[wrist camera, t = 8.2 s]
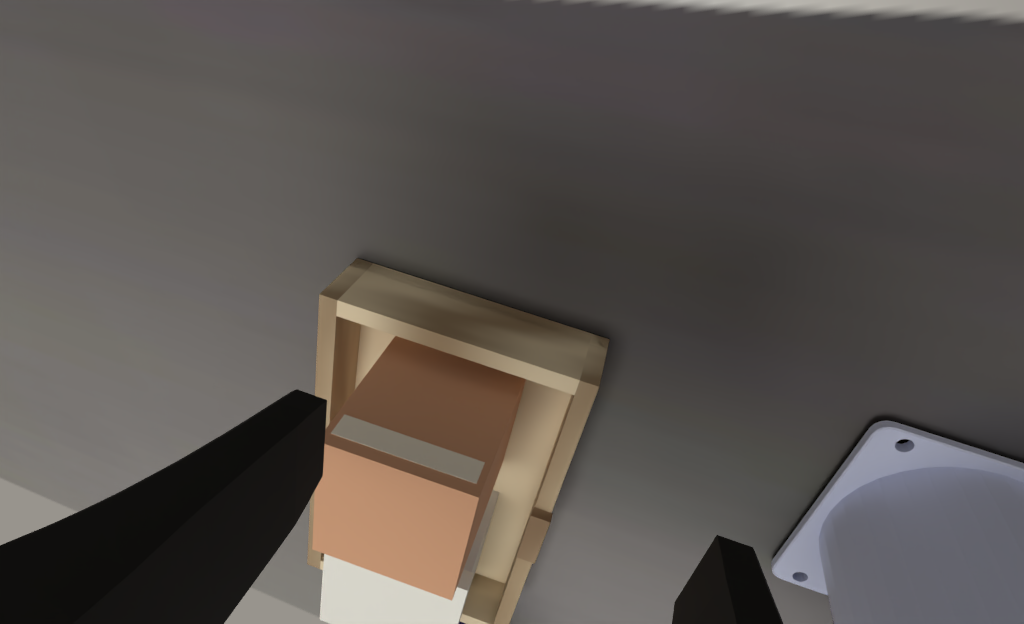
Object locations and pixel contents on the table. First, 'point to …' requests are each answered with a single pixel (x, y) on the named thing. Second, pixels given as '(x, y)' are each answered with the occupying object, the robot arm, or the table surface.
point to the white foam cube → (394, 591)
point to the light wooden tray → (491, 342)
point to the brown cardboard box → (414, 465)
